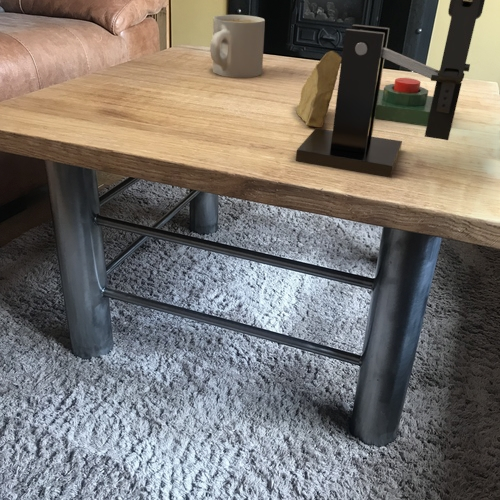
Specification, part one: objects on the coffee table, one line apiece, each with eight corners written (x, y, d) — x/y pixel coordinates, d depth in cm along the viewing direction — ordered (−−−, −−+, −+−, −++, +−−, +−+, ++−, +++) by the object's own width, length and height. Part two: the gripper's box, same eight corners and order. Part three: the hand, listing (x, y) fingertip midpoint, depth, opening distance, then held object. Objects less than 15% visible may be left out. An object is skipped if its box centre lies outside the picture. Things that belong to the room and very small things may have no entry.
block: (441, 110, 95) (446, 87, 93) (437, 127, 87) (442, 101, 85) (370, 101, 98) (374, 78, 96) (360, 116, 90) (364, 91, 88)
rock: (338, 119, 80) (364, 95, 87) (307, 66, 78) (336, 46, 85) (284, 148, 87) (312, 124, 94) (254, 100, 86) (285, 79, 92)
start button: (419, 90, 92) (421, 79, 91) (417, 96, 89) (419, 85, 88) (394, 87, 93) (396, 76, 92) (391, 92, 90) (393, 81, 89)
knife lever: (453, 89, 68) (463, 70, 67) (451, 99, 64) (462, 79, 63) (354, 46, 70) (362, 27, 68) (346, 53, 66) (355, 33, 64)
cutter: (400, 151, 76) (423, 28, 68) (390, 177, 68) (415, 40, 60) (314, 137, 80) (327, 18, 72) (295, 160, 71) (307, 29, 63)
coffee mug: (237, 64, 119) (239, 13, 114) (272, 73, 113) (275, 20, 108) (189, 72, 110) (189, 18, 105) (224, 82, 105) (225, 25, 100)
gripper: (453, -91, 65) (414, 107, 77) (445, -99, 50) (397, 148, 62) (522, -87, 63) (471, 115, 75) (535, -95, 48) (468, 159, 60)
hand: (438, 130), depth 69 cm, fingers closed on knife lever, 5 cm apart
